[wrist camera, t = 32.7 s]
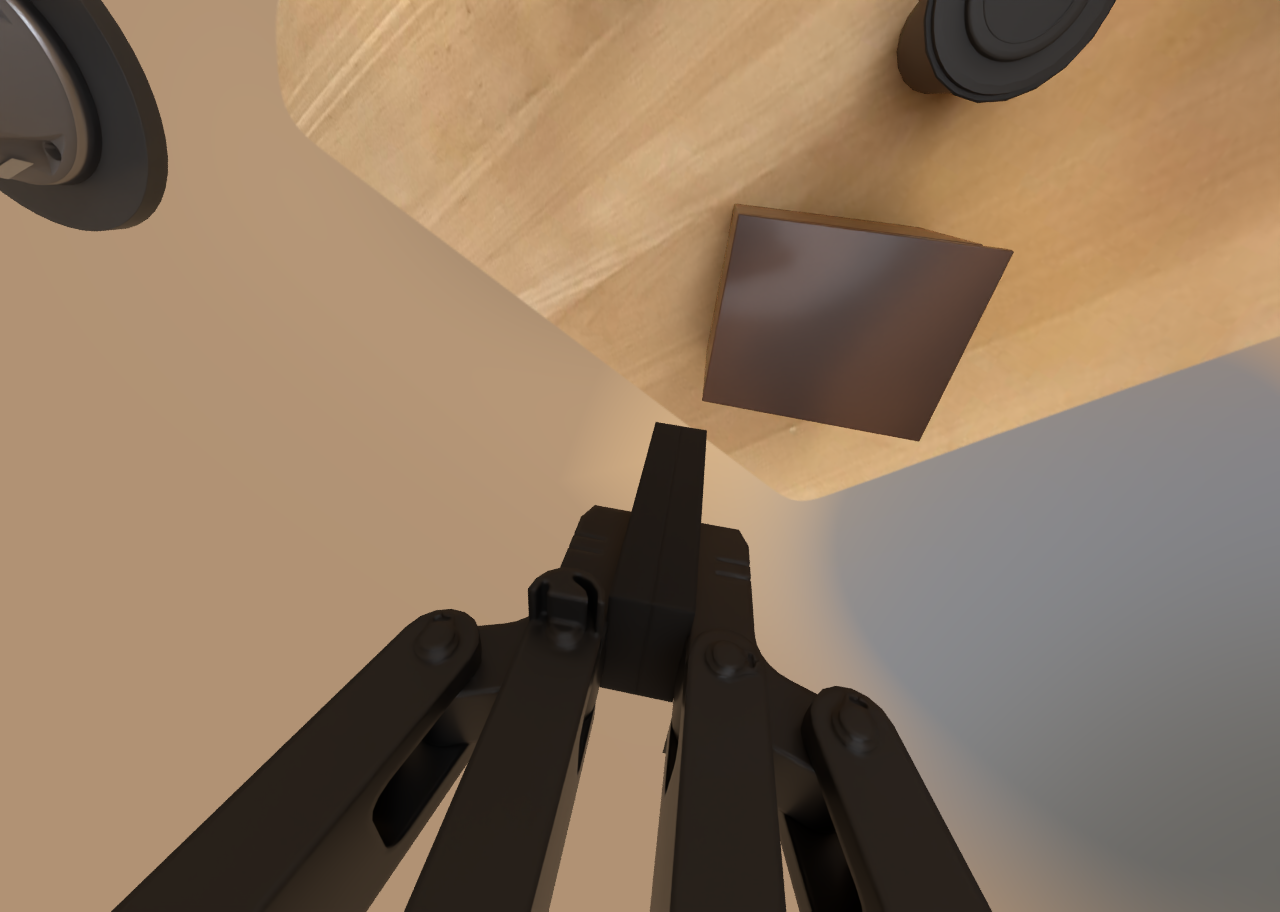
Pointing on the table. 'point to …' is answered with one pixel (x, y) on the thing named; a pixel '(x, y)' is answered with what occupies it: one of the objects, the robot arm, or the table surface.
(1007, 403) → the table surface
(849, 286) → the lid
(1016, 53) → the coffee cup
